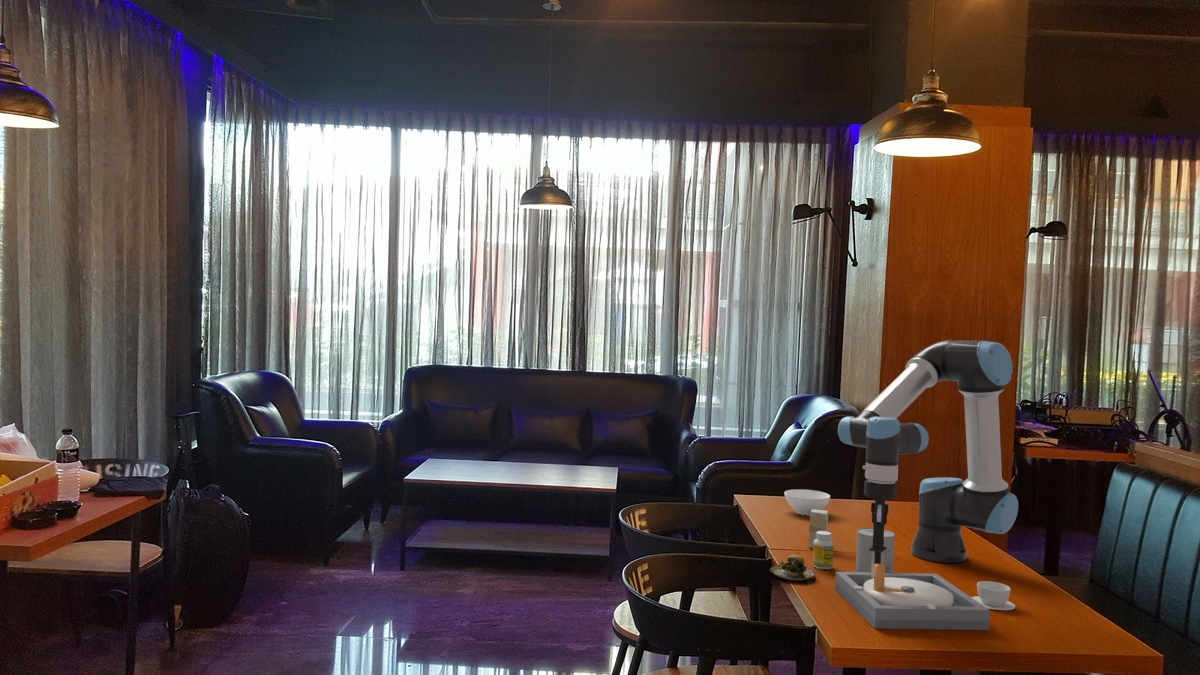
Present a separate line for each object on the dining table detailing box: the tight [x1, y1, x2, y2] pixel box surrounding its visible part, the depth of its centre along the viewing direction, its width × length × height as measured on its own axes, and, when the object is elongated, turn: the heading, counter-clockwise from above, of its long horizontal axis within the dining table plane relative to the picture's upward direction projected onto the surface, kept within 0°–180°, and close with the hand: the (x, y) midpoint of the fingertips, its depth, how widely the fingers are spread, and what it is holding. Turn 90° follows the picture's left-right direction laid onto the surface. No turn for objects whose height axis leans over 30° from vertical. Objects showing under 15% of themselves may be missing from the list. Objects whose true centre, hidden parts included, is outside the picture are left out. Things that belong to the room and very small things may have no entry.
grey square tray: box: [834, 571, 991, 631], centre depth 192 cm, size 26×26×5 cm
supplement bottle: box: [812, 531, 834, 570], centre depth 223 cm, size 5×5×10 cm
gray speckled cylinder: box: [855, 527, 895, 573], centre depth 215 cm, size 10×10×12 cm
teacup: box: [971, 580, 1017, 611], centre depth 197 cm, size 10×10×5 cm
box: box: [807, 509, 829, 549], centre depth 243 cm, size 5×4×11 cm
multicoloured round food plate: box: [769, 547, 817, 584], centre depth 214 cm, size 12×12×8 cm
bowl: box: [783, 488, 831, 517], centre depth 288 cm, size 16×16×7 cm
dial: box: [864, 564, 953, 606], centre depth 192 cm, size 20×20×8 cm
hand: (876, 577), depth 196 cm, fingers closed
